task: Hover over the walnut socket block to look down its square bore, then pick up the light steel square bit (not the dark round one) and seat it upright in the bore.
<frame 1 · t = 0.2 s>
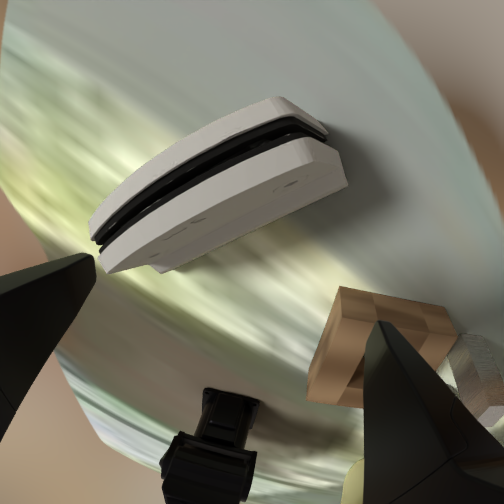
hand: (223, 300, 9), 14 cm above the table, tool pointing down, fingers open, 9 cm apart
socket block: (374, 341, 26), on the table
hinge: (225, 186, 23), on the table
slatted curved stool: (401, 463, 37), on the table
square bit: (464, 346, 25), on the table
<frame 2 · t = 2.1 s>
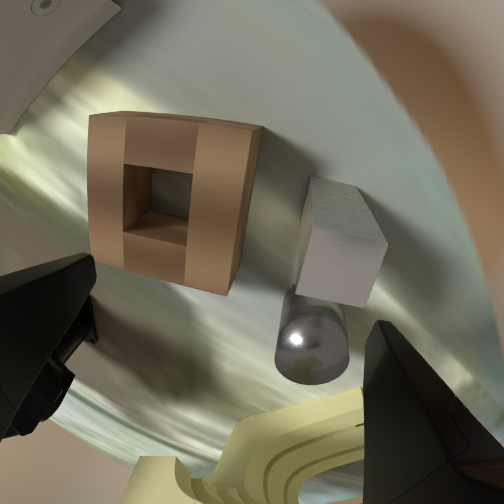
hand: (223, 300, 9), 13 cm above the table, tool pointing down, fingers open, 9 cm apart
socket block: (179, 187, 21), on the table
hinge: (41, 47, 18), on the table
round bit: (313, 305, 24), on the table
slatted curved stool: (311, 434, 32), on the table
square bit: (328, 202, 20), on the table
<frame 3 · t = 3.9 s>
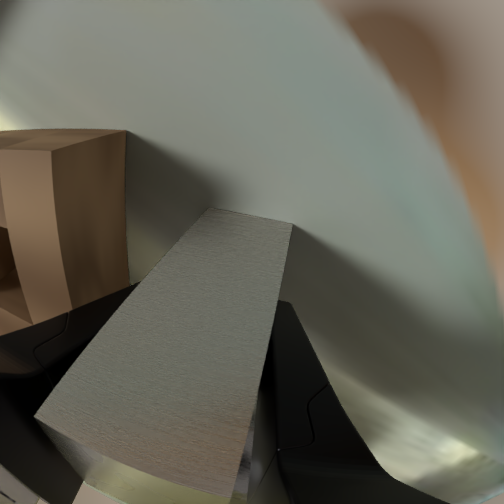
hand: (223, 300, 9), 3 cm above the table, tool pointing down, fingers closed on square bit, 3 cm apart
socket block: (46, 229, 13), on the table
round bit: (245, 391, 15), on the table
square bit: (244, 253, 12), on the table, touching gripper
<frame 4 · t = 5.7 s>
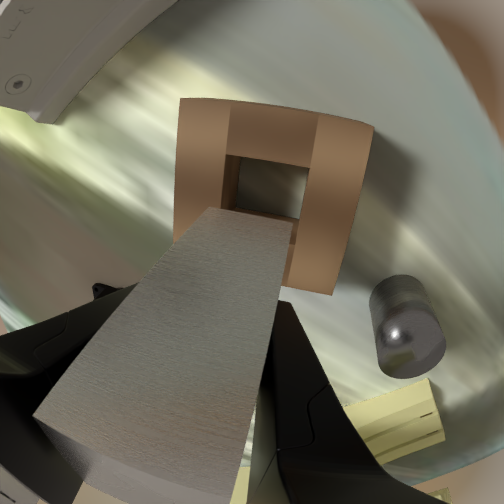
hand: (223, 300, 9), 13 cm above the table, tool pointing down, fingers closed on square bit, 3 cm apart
socket block: (271, 181, 20), on the table
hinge: (92, 27, 17), on the table
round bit: (397, 300, 22), on the table
slatted curved stool: (373, 429, 31), on the table
square bit: (245, 252, 12), point 10 cm above the table, touching gripper
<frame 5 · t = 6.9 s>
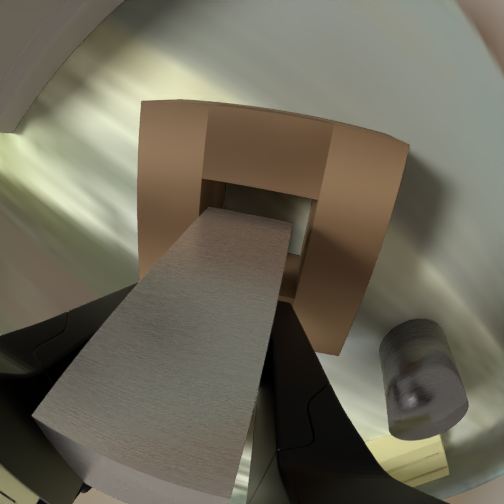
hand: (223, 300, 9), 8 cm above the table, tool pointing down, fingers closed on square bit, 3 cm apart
socket block: (265, 208, 16), on the table
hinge: (55, 18, 13), on the table
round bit: (412, 346, 18), on the table
slatted curved stool: (373, 465, 26), on the table
square bit: (244, 252, 12), point 5 cm above the table, touching gripper
when the fingers open (5 cm above the table, at t = 7.8 s): square bit drops 2 cm, resting in socket block.
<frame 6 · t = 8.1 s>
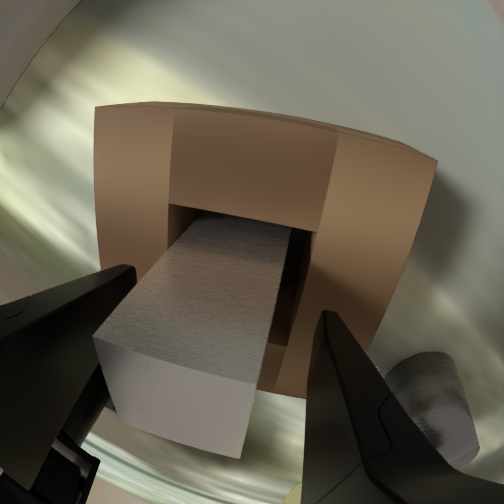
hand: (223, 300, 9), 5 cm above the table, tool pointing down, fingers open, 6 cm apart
socket block: (254, 232, 13), on the table
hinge: (23, 15, 10), on the table
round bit: (419, 379, 16), on the table
square bit: (254, 231, 13), resting in socket block
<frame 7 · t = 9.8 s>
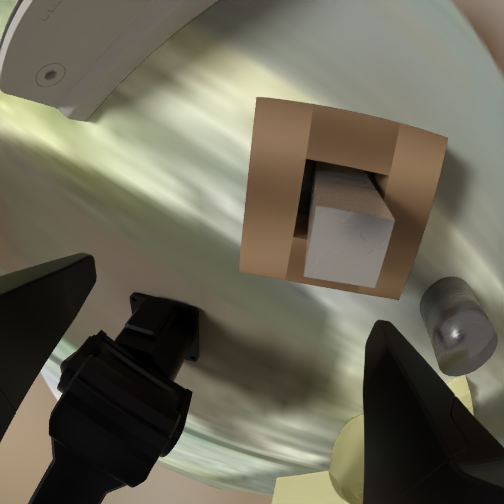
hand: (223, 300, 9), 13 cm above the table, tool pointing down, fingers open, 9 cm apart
socket block: (336, 187, 19), on the table
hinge: (131, 17, 16), on the table
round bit: (445, 301, 22), on the table
slatted curved stool: (409, 427, 30), on the table
square bit: (335, 186, 20), resting in socket block
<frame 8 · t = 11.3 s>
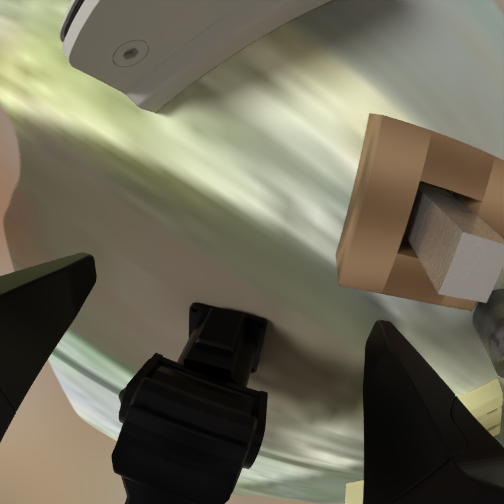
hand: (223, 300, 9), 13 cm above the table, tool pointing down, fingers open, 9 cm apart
socket block: (421, 205, 19), on the table
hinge: (219, 5, 16), on the table
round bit: (493, 311, 21), on the table
slatted curved stool: (442, 428, 29), on the table
square bit: (421, 204, 19), resting in socket block
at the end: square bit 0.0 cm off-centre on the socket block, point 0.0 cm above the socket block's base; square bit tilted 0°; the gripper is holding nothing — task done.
